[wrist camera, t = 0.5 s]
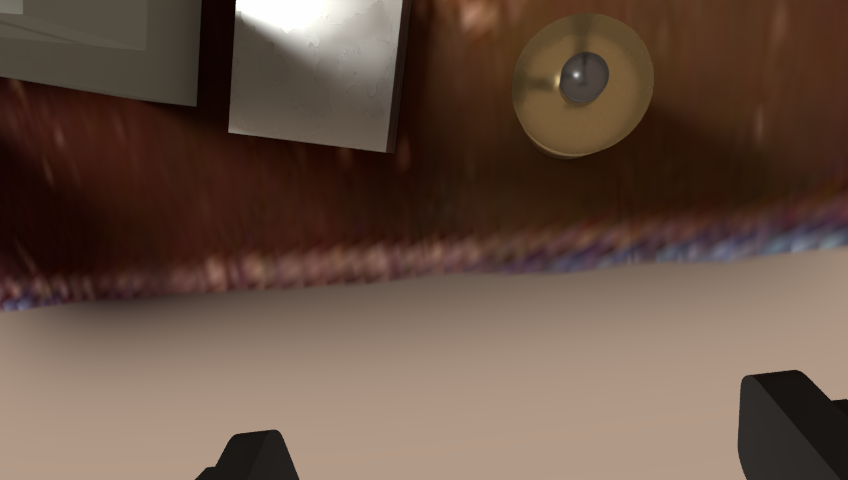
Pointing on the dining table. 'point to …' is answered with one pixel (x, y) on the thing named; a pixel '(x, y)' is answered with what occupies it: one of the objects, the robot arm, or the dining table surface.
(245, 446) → the robot arm
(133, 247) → the dining table surface
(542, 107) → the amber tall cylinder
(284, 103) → the plate
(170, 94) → the press frame
